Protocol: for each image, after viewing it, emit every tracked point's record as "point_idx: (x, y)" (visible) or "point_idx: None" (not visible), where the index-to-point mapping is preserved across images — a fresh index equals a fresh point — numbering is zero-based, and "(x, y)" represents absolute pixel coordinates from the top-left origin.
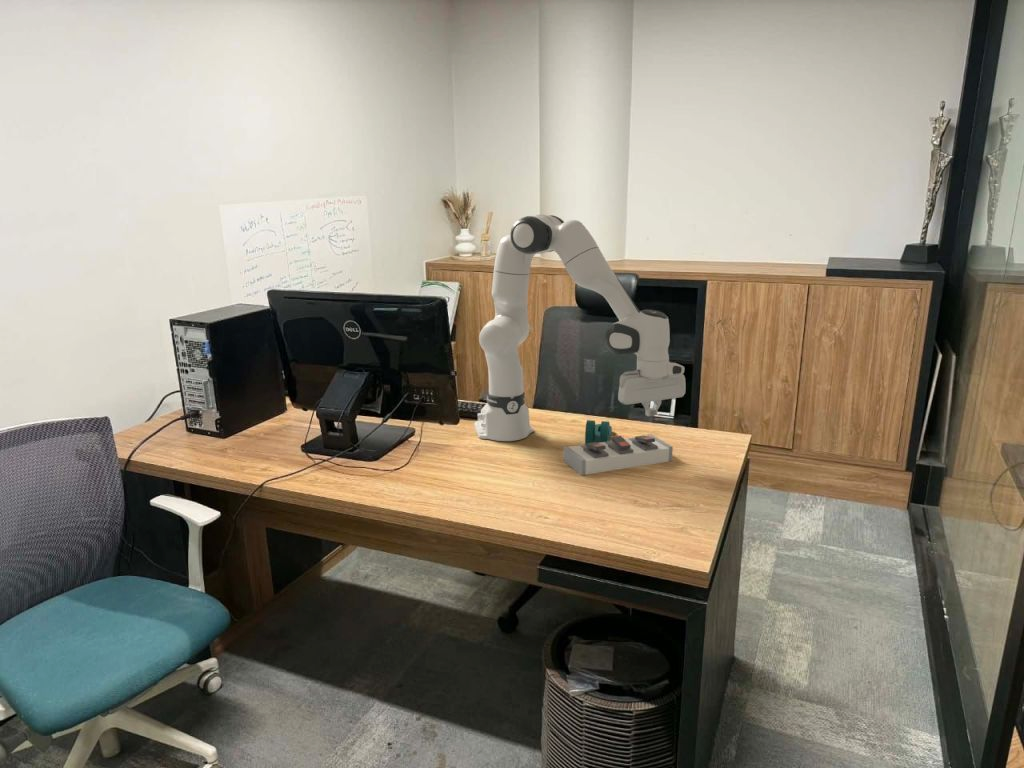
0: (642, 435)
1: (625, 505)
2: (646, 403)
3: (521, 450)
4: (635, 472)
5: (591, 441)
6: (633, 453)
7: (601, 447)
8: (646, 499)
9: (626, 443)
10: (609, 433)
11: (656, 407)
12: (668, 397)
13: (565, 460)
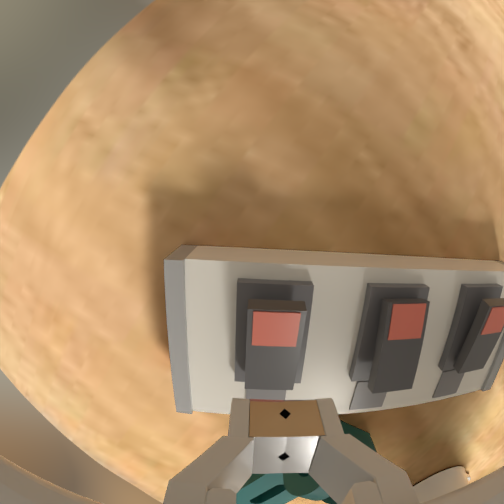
0: (253, 388)
1: (487, 49)
2: (405, 492)
3: (473, 431)
4: (378, 205)
5: (363, 442)
6: (373, 272)
7: (498, 302)
8: (438, 34)
9: (397, 321)
10: (269, 473)
11: (239, 457)
12: (46, 499)
13: None
